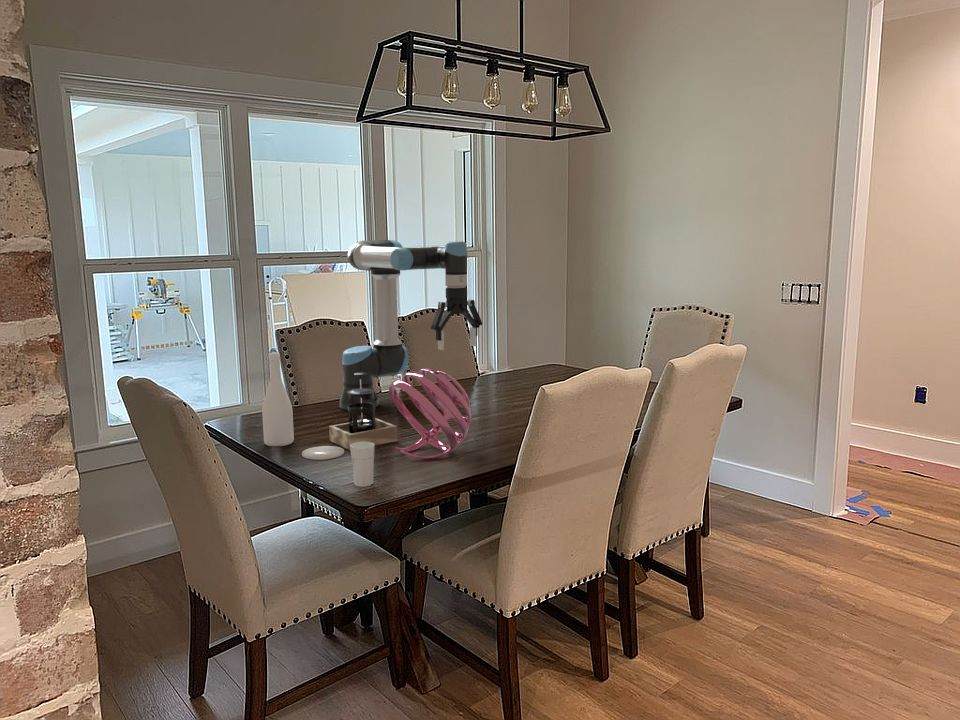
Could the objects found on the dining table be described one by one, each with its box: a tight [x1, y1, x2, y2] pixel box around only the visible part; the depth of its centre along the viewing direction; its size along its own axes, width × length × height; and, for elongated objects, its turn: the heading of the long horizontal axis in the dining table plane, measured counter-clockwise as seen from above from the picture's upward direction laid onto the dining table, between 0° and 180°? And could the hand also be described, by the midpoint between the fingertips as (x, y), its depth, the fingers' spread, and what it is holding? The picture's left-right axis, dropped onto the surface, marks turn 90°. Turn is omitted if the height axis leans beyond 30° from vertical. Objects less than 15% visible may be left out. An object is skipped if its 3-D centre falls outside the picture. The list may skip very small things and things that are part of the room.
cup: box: [349, 442, 375, 488], centre depth 209 cm, size 7×7×11 cm
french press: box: [347, 372, 376, 434], centre depth 250 cm, size 12×9×23 cm
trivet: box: [301, 445, 345, 461], centre depth 238 cm, size 13×13×1 cm
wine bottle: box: [261, 351, 295, 447], centre depth 247 cm, size 10×10×30 cm
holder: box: [328, 417, 398, 451], centre depth 252 cm, size 14×17×5 cm
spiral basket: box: [388, 367, 472, 460], centre depth 235 cm, size 28×28×27 cm
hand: (457, 347), depth 265 cm, fingers open, 13 cm apart
